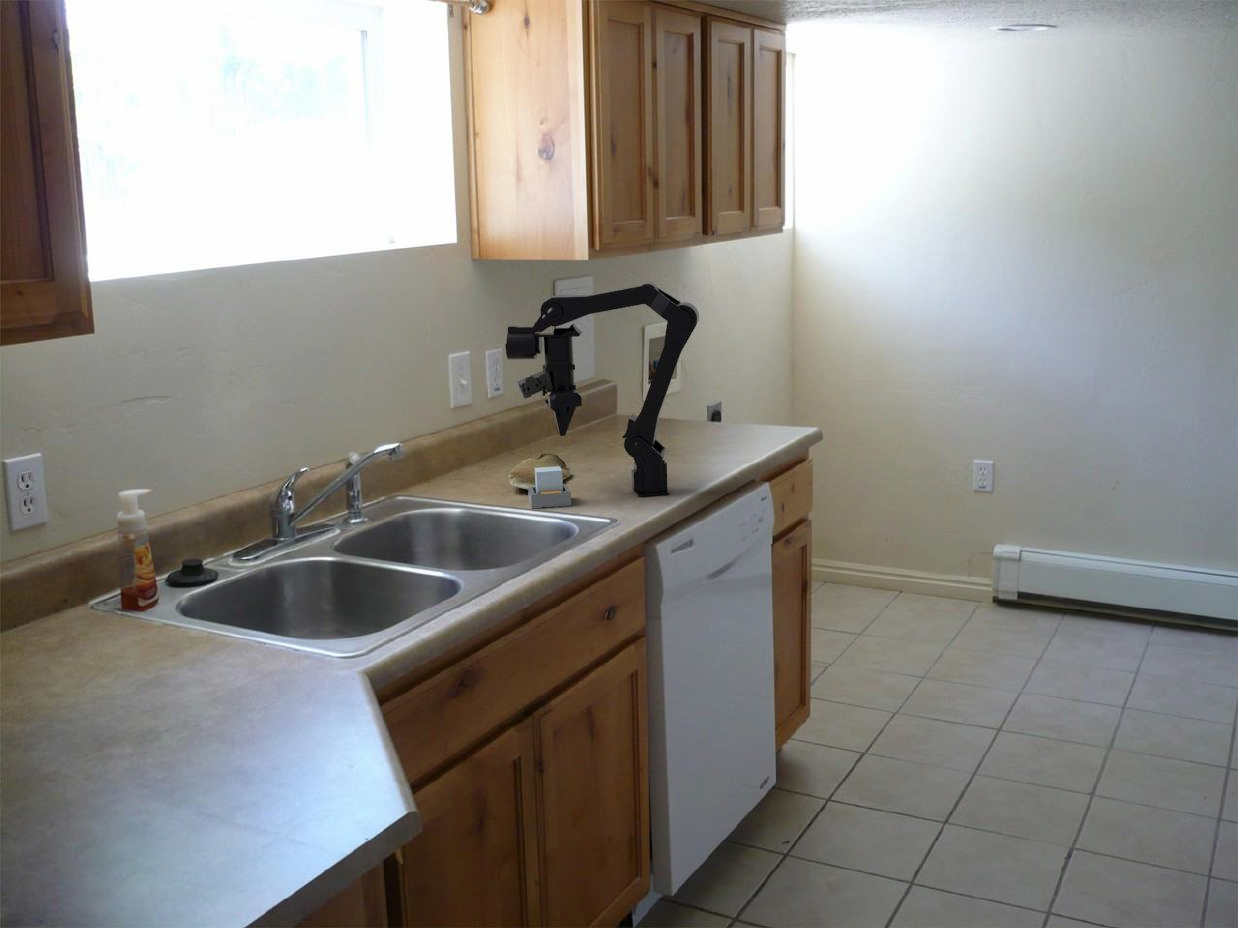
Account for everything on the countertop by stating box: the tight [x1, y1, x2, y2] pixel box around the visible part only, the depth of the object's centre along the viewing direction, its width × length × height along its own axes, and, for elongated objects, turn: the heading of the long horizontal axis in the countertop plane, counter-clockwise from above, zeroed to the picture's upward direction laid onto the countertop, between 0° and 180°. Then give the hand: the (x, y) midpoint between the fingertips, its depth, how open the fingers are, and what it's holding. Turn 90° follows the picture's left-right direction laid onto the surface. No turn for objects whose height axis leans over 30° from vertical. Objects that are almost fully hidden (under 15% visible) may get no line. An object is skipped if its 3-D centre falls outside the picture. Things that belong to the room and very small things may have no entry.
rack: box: [527, 483, 572, 509], centre depth 241 cm, size 8×7×3 cm
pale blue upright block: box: [535, 466, 564, 493], centre depth 241 cm, size 5×4×6 cm
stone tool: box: [507, 452, 572, 491], centre depth 261 cm, size 12×4×25 cm
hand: (562, 435), depth 247 cm, fingers closed
